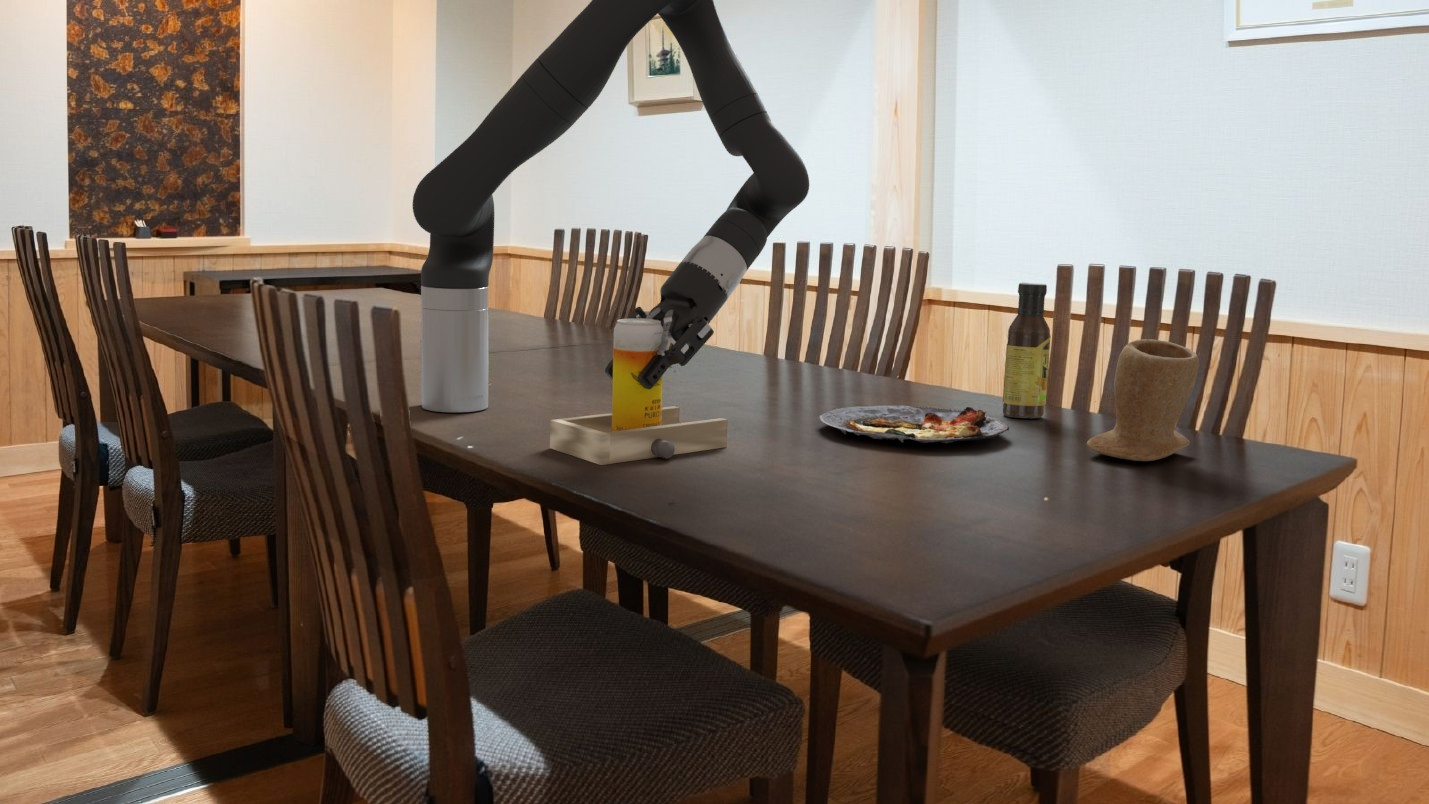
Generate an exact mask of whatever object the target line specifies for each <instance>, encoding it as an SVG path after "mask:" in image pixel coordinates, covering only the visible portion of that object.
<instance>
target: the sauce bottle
mask: <svg viewBox="0 0 1429 804" xmlns="http://www.w3.org/2000/svg"><path fill="white" fill-rule="evenodd" d="M1017 288H1018V289H1017V293H1018V295H1019V296H1018V307H1017V310H1016V311H1017V315H1015V316H1016V317H1015V318H1014V319H1013V321H1012V322H1011V323H1010V325H1009V328H1008V330H1007V332H1008V333H1007V343H1006V349H1005V351H1006V352H1005V360H1004V361H1005V365H1004V377H1003V390H1002V402H1003V403H1002V404H1003V407H1002V415H1003V416H1005V417H1008V418H1014V419H1015V418H1016V419H1039V418H1042V417H1043V416H1044V414H1045V405H1046V404H1047V392H1048V379H1049V368H1050V367H1049V365H1050V349H1051V348H1050V347H1051V338H1052V337H1051V336H1052V335H1051V329H1050V327H1049V324H1048V323H1047V321H1046V319H1045V316H1044V315H1045V314H1044V313H1045V299H1046V295H1047V293H1048V291H1047V290H1048V285H1047V284H1046V283H1045V284H1044V283H1034V282H1024V281H1023V282H1022V281H1021V282H1019V283H1018V287H1017Z"/></svg>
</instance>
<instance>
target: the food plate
mask: <svg viewBox="0 0 1429 804" xmlns="http://www.w3.org/2000/svg"><path fill="white" fill-rule="evenodd" d="M986 413H987V411H986V410H985V411H983V410H982V409H974V408H973V407H970V406H966V407H965V408H964V409H963V410H960V409H959V410H957V409H954V410H952V409H951V408H950V409H948V408H947V409H946V408H939V407H928V406H926V407H924V406H913V405H911V406H910V405H888V404H887V405H870V406H868V405H866V406H860V405H858V406H848V407H841V408H833V409H830V410H828V411H826V412H825V413H822V414H820V415H819V417H818V419H819V420H820V421H821V423H823V424H826V426H830V427H833V428H836V429H838V430H840V432H842V434H844V435H847V432H849V433H854V435H856V436H859V437H860V436H867V437H869V438H871V439H876V440H879V441H880V440H886V441H888V440H892V441H895V440H896V439H898V440H899V441H900V442H901V444H902V443H903V444H904V443H905V442H904V440H906V441H907V440H912V441H915V442H918V443H919V444H927V443H936V442H938V443H943V444H945V445H947V444H949V443H954V442H961V441H962V442H963V441H968V442H969V441H975V440H976V441H977V440H978V441H979V440H983V439H992V438H994V437H996V436H999V435H1001V434H1003V433H1005V432H1008V431H1009V430H1010V426H1009V425H1008V423H1005V422H1004V421H1002V420H1001V419H999V418H997V417H991V416H987V415H986Z"/></svg>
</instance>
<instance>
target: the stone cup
mask: <svg viewBox="0 0 1429 804" xmlns="http://www.w3.org/2000/svg"><path fill="white" fill-rule="evenodd" d="M1199 367H1200V359H1199V355H1198V354H1197V353H1196V352H1195V351H1193V350H1191V349H1190V348H1188V347H1185V346H1183V345H1181V344H1177V343H1173V342H1171V341H1165V340H1159V339H1152V338H1151V339H1135V340H1132V341H1129V343H1127V344H1126V345H1124V347H1123V349H1122V351H1121V352H1120V353H1119V356H1118V360H1117V363H1116V367H1115V368H1116V369H1115V373H1114V383H1113V393H1114V401H1115V412H1116V416H1115V418H1116V420H1115V425H1114V427H1113V429H1110V430H1108V431H1105V432H1102V433H1100V434H1097V435H1095V436H1093V437H1091V438H1089V439H1088V440H1087V442H1086V446H1087V448H1088V449H1089V450H1091V451H1092V452H1095V453H1098V454H1101V455H1104V456H1108V457H1111V458H1116V459H1121V460H1127V461H1128V460H1129V461H1137V462H1152V461H1156V460H1161V459H1165V458H1167V457H1169V456H1172V455H1173V454H1175V453H1177V452H1179V451H1181V450H1183V449H1185V448H1187V447H1188V446H1189V445H1190V444H1191V442H1190V440H1189V439H1188V438H1187V437H1185V435H1183V434H1181V433H1179V432H1178V431H1177V430H1175V428H1176V425H1177V423H1178V421H1179V419H1180V416H1181V414H1182V412H1183V410H1184V408H1185V407H1186V404H1187V401H1188V400H1189V398H1190V396H1191V395H1192V392H1193V391H1194V388H1195V385H1196V382H1197V378H1198V373H1199V372H1198V371H1199Z"/></svg>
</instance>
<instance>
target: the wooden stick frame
mask: <svg viewBox="0 0 1429 804" xmlns="http://www.w3.org/2000/svg"><path fill="white" fill-rule="evenodd" d="M680 414H681V413H680V407H679V406H673V405H672V406H662V418H661V426H653V427H645V428H637V429H629V430H621V431H613V432H612V412H610V413H601V414H592V415H583V416H574V417H565V418H557V419H550V421H549V422H550V423H549V424H550V425H549V449H552V450H554V451H557V452H560V453H564V454H566V455H570V456H573V457H575V458H578V459H582V460H585V461H588V462H590V463H594V464H596V465H600V466H605V465H612V464H616V463H617V464H619V463H625V462H626V463H627V462H633V461H639V460H647V459H653V458H662V459H670V458H672V457H673V456H674V455H682V454H687V453H689V454H690V453H694V452H695V453H696V452H700V451H707V450H708V451H709V450H715V449H721V448H727V447H728V423H729V422H728V419H727V418H722V417H719V418H710V419H704V420H696V421H687V422H680Z"/></svg>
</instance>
